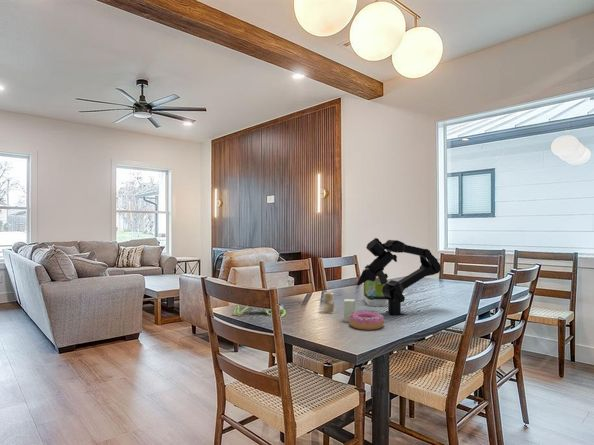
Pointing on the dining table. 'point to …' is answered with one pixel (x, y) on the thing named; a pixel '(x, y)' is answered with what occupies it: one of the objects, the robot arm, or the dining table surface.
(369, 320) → the donut
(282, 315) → the figurine
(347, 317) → the sage block
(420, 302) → the dining table surface
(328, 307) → the maple block
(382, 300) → the tea box
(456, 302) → the dining table surface
